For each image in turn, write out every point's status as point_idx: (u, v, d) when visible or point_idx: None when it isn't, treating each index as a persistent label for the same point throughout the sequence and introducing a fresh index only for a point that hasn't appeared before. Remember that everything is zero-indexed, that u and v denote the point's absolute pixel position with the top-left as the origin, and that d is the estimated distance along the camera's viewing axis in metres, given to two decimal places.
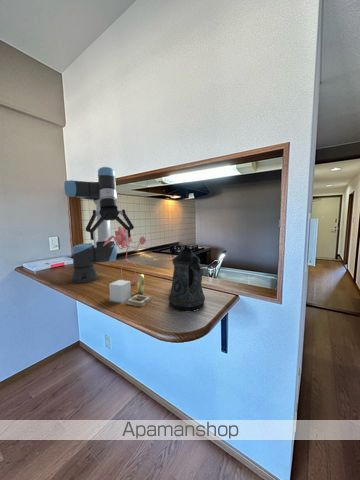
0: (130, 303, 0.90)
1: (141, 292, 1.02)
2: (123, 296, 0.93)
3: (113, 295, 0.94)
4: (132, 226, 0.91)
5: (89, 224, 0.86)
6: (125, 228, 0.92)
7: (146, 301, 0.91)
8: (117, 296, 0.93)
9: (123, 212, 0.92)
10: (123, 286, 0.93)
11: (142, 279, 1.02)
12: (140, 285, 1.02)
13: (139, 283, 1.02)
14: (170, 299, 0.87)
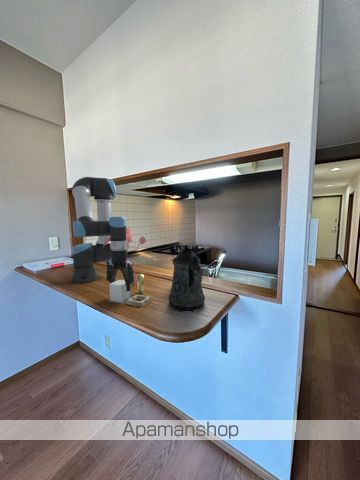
0: (130, 303, 0.90)
1: (141, 292, 1.02)
2: (123, 296, 0.93)
3: (113, 295, 0.94)
4: (129, 282, 0.92)
5: (107, 275, 0.97)
6: None
7: (146, 301, 0.91)
8: (117, 296, 0.93)
9: (127, 266, 0.92)
10: (123, 286, 0.93)
11: (142, 279, 1.02)
12: (140, 285, 1.02)
13: (139, 283, 1.02)
14: (170, 299, 0.87)
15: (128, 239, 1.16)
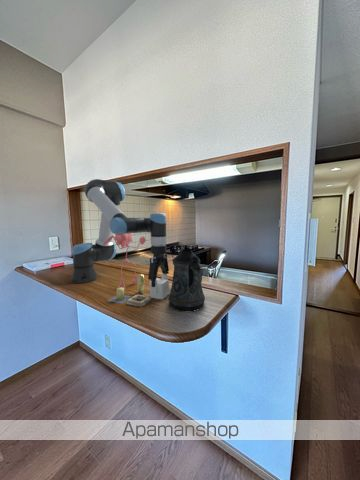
0: (130, 303, 0.90)
1: (141, 292, 1.02)
2: (152, 293, 0.97)
3: None
4: None
5: None
6: None
7: (146, 301, 0.91)
8: None
9: None
10: None
11: (142, 279, 1.02)
12: (140, 285, 1.02)
13: (139, 283, 1.02)
14: (170, 299, 0.87)
15: (128, 239, 1.16)
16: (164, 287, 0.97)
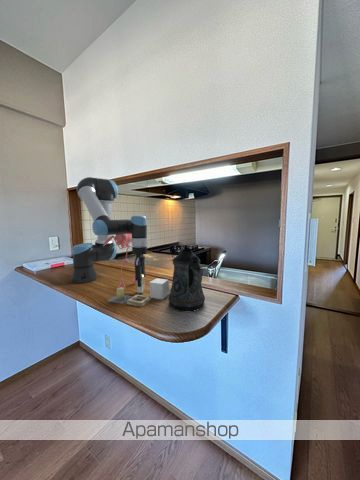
0: (130, 303, 0.90)
1: None
2: (152, 293, 0.97)
3: None
4: (135, 278, 0.98)
5: None
6: None
7: (146, 301, 0.91)
8: None
9: None
10: (152, 284, 0.97)
11: (142, 279, 1.02)
12: None
13: None
14: (170, 299, 0.87)
15: (128, 239, 1.16)
16: (164, 287, 0.97)
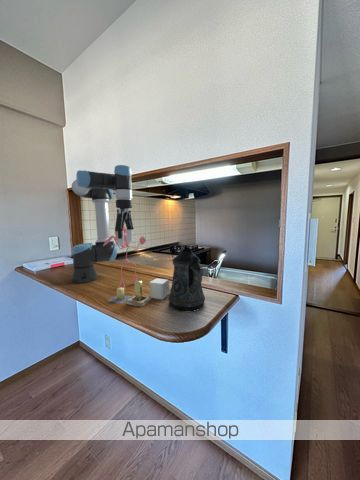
0: (130, 303, 0.90)
1: None
2: (152, 293, 0.97)
3: None
4: (115, 228, 0.87)
5: None
6: None
7: (146, 301, 0.91)
8: None
9: None
10: (152, 284, 0.97)
11: (140, 286, 0.91)
12: (138, 292, 0.91)
13: (137, 291, 0.91)
14: (170, 299, 0.87)
15: None
16: (164, 287, 0.97)
